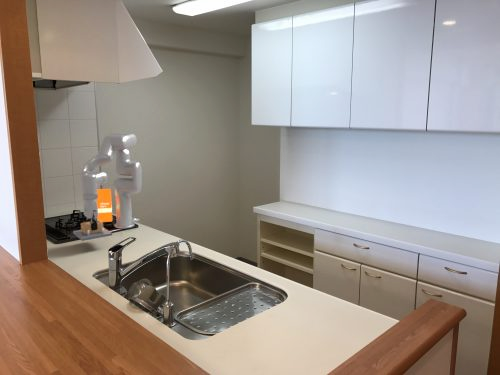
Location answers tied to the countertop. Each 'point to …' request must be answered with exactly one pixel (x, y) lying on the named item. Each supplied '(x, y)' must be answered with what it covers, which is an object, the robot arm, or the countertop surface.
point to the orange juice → (104, 205)
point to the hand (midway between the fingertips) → (92, 228)
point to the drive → (87, 226)
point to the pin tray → (92, 234)
